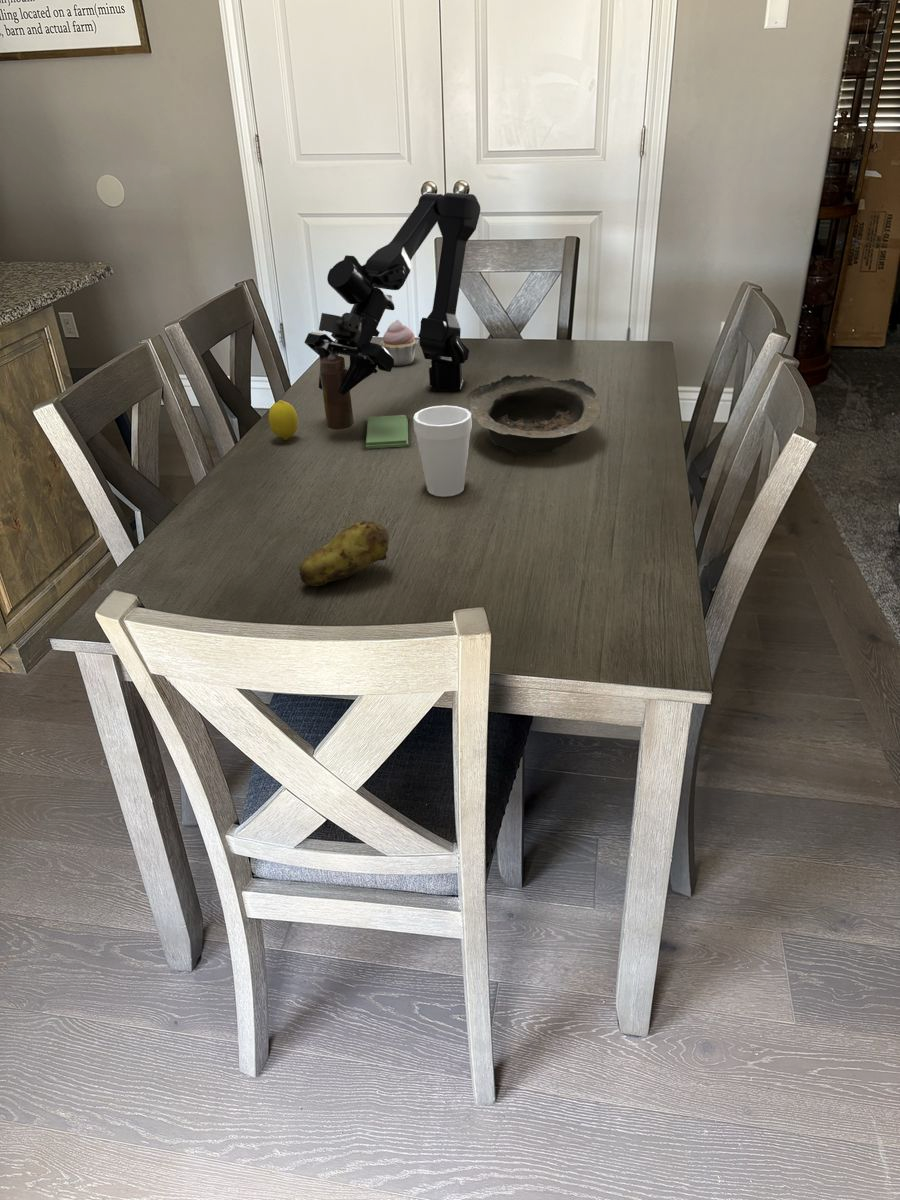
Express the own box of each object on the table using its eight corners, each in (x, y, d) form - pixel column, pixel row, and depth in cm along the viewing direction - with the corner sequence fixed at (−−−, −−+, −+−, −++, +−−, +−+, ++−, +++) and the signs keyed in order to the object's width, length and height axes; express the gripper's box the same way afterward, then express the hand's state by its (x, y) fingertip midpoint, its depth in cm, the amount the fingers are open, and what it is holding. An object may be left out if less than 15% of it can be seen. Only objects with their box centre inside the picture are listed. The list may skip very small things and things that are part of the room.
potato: (303, 566, 127) (296, 517, 123) (391, 559, 128) (387, 510, 123) (300, 595, 120) (292, 545, 116) (393, 588, 121) (388, 538, 116)
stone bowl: (525, 405, 179) (529, 362, 174) (624, 444, 164) (631, 398, 159) (440, 439, 164) (440, 392, 159) (540, 484, 150) (544, 435, 145)
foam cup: (480, 480, 150) (478, 408, 143) (463, 503, 142) (461, 428, 135) (429, 474, 153) (425, 403, 146) (410, 497, 145) (404, 423, 138)
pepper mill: (353, 418, 171) (345, 348, 163) (354, 428, 166) (346, 357, 159) (326, 420, 170) (317, 351, 163) (327, 430, 166) (317, 359, 158)
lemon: (303, 434, 171) (297, 395, 167) (296, 445, 167) (290, 405, 162) (276, 434, 172) (270, 395, 168) (268, 445, 167) (262, 405, 163)
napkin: (407, 419, 176) (407, 414, 175) (408, 446, 164) (407, 440, 163) (368, 422, 176) (367, 416, 175) (366, 448, 164) (365, 442, 163)
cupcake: (425, 357, 211) (422, 315, 206) (412, 369, 204) (409, 326, 198) (389, 355, 214) (386, 314, 208) (375, 366, 206) (371, 324, 201)
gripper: (304, 288, 163) (270, 362, 162) (378, 299, 153) (342, 378, 152) (338, 320, 172) (306, 390, 171) (410, 333, 162) (376, 407, 161)
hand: (330, 391), depth 164 cm, fingers closed on pepper mill, 5 cm apart
